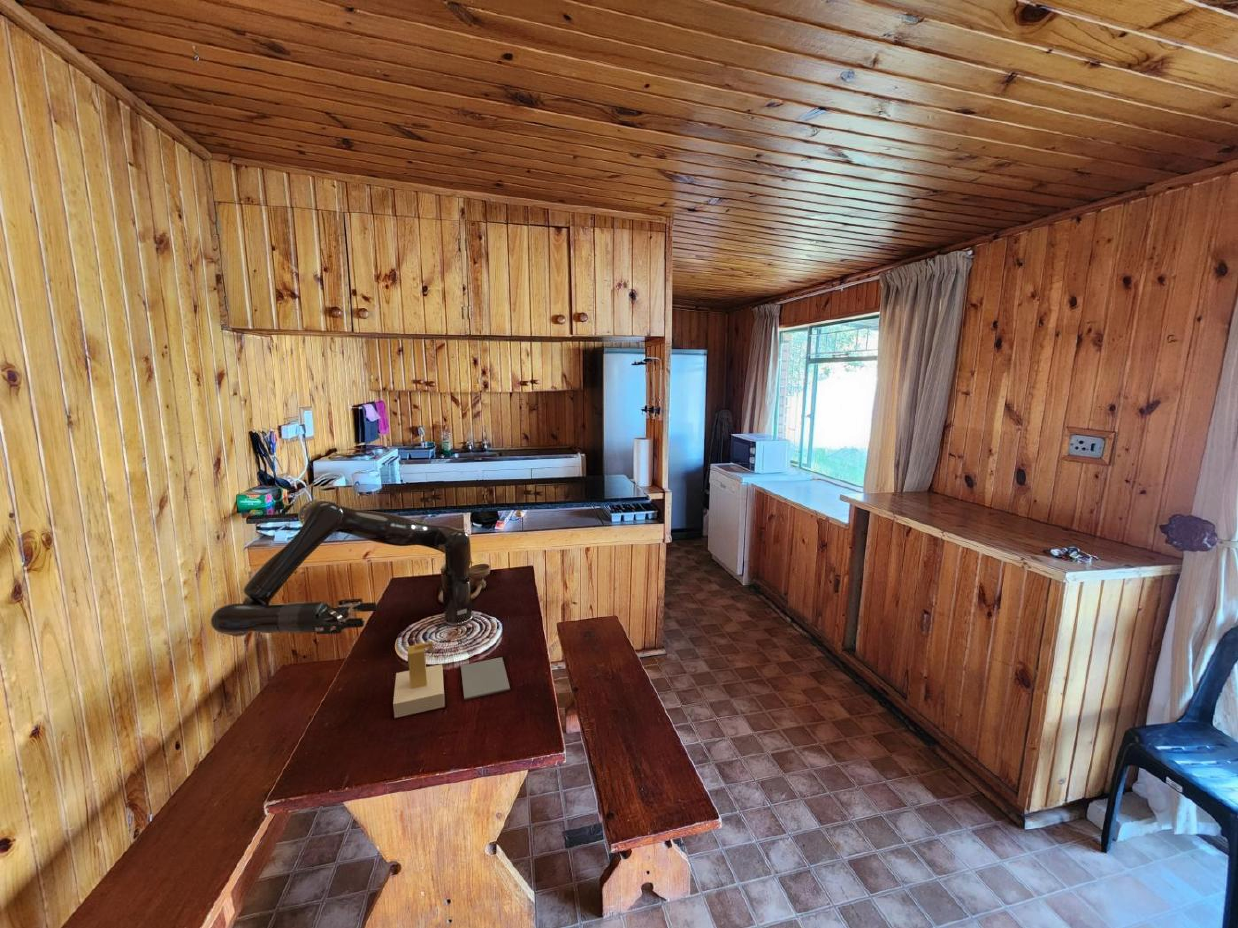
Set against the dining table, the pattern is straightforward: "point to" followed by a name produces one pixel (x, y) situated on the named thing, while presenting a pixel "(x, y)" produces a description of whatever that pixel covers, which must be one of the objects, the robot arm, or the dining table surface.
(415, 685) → the golden block with ridge
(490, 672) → the left mat
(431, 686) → the beige rectangular block
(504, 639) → the dining table surface
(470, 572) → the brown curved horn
